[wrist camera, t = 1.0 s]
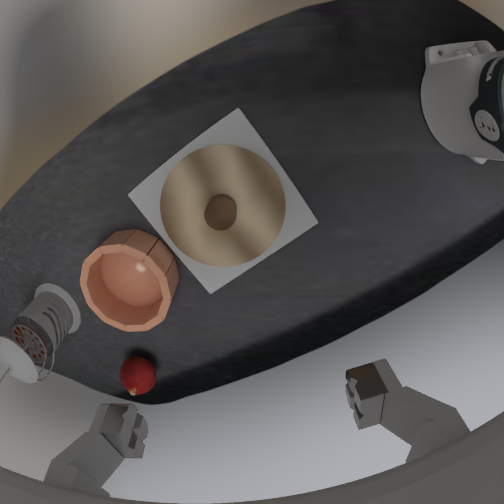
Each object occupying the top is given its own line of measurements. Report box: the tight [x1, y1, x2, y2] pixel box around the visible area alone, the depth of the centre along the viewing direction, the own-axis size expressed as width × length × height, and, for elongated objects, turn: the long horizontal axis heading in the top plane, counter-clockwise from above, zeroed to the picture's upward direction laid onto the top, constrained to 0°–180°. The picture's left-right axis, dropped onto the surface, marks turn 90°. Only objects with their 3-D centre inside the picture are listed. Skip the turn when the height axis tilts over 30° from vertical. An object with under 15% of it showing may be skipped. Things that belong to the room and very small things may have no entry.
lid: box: [160, 145, 286, 267], centre depth 34 cm, size 15×15×4 cm
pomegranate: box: [120, 357, 157, 395], centre depth 42 cm, size 6×6×8 cm
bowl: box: [80, 229, 179, 331], centre depth 37 cm, size 12×12×6 cm
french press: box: [0, 283, 81, 383], centre depth 30 cm, size 10×12×25 cm
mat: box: [128, 108, 319, 294], centre depth 36 cm, size 17×17×1 cm
